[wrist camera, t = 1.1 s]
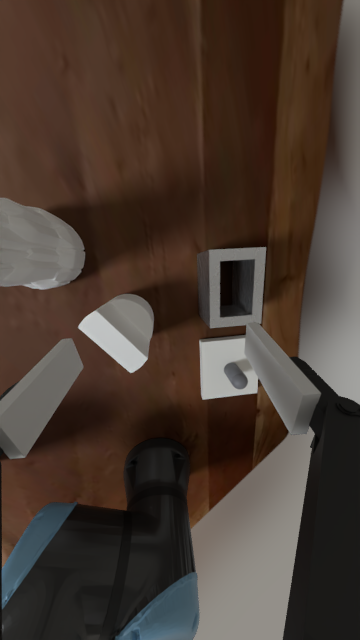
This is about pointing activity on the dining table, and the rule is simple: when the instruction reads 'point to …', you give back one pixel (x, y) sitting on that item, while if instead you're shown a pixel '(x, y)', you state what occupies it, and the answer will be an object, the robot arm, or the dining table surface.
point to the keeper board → (217, 363)
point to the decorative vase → (37, 248)
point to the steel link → (243, 286)
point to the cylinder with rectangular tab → (122, 329)
